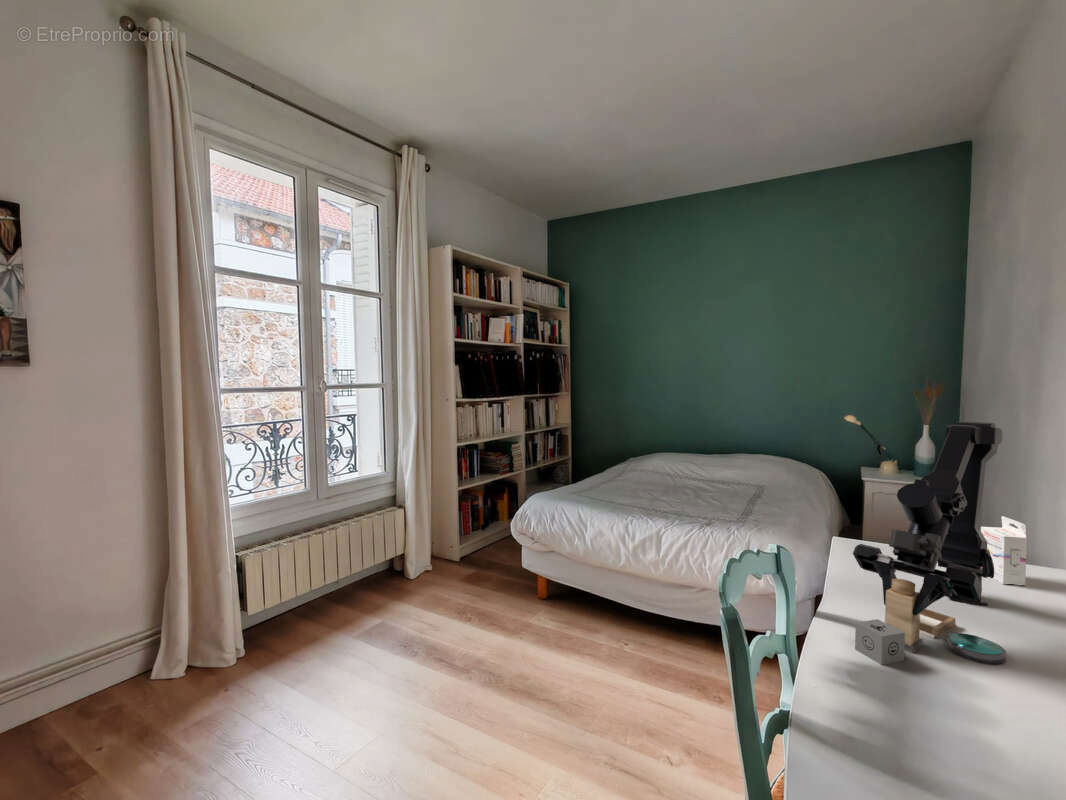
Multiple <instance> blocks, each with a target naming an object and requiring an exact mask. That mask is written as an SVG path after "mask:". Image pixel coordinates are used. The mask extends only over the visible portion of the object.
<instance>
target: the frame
mask: <svg viewBox="0 0 1066 800" xmlns="http://www.w3.org/2000/svg"><path fill="white" fill-rule="evenodd" d="M955 627H956V617H952V616H950V615H947V614H943V613H940V612H936V611H934V610H931V609H928V608H925V609H924V610H923V611H922V612H920V628H919V635H923V636H926V637H928V638H931V639H938V638H940V637H941V636H942V635H944V634H946V633H947V632H949V631H950V630H953V628H955Z"/></svg>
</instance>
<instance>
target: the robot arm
mask: <svg viewBox="0 0 1066 800" xmlns="http://www.w3.org/2000/svg"><path fill="white" fill-rule="evenodd" d="M1002 440H1003V430H1002V428H1001V427H1000V428H999V427H997V426H996V424H995V423H994V422H979V421H978V422H977V421H957V423H956V424H952V425H947V427H946V431H945V441H944V443H943V446H942V448H941V451H940V453H939V456H938V458H937V461H936V463H935V466H934V468H933V470H932V472H930V473H928V474H927V475H925V476H922V477H921V479H918V478H915V479H914V481H913V483H908V484H905V485H903V486H902V487H901V488H900V489H898V490H897V493H896V498H897V500H898V502H899V505H900V508H901V509H902V512H903V514H904V516H905V518H906V519H907V521H909V524H908V528H907V529H906V531H905V530H904V531H903V530H899V529H893V528H892V529H891V535H890V538H889V544H888V546H889V547H891V548H893V550H892V553H893V556H896V558H893V557H892V556H890V555H887V554H883V552H882V550H881V548H880V547H876V546H872V545H867V544H864V543H859V544H857V545H856V546H855V547H854V549H853V551H852V554H853V557H854V558H855V560H856V562H857V564H858V566H859V567H860V569H863V570H865V571H868V572H872V573H875V574H878V576H879V577H880V578H881V580H882V594H883V595H882V596H883V605H884V606H886V590H888V589H890V588H892V579H898V578H897V576H896V574H895V573H896V572H897V571H899V572H902V573H906V574H911V575H914V576H919V577H922V578H923V581H922V582H923V583H922V585H921V588H920V590H919V591H918V593H919V594H918V597H917V599H916V601H915V603H914V607H913V611H912V613H913V615H915V616H916V615H918V614H919V613H920V612H922V611H923V610H924V609H928V607H929V606H931V605H932V604H933V603H936V602H937V601H939V600H941V599H942V598H944V597H947V598H948V599H949V600H951V601H958V602H964V603H970V604H976V605H984V606H988V605H989V603H988V601H987V600H986V599H985V598H984V597H983V596H982V594H983V587H982V585H983V578H984V579H987V578H990V577H994V563H993V560H992V557H991V555H990V552H989V550H987V541H986V539H985V537H984V536H983V534H982V532H981V528H980V524H981V523H980V522H981V515H982V514H981V513H982V512H981V511H982V505H983V504H982V502H983V493H984V484H985V476H986V466H987V463H988V462H989V461H990V460H991V459H992V458H993V457H994V456H995V455H996V454H997V453H998V449H999V448H998V447H999V445H1000V444H1002V442H1003V441H1002ZM945 515H946V516H949V517H952V519H951V523H950V522H949V520H948V518H947V517H946V516H945ZM937 566H938V567H939V568H941V567H942V568H945V570H940V569H936V567H937ZM981 567H982V568H981Z"/></svg>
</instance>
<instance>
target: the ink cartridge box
mask: <svg viewBox="0 0 1066 800" xmlns="http://www.w3.org/2000/svg"><path fill="white" fill-rule="evenodd" d="M1012 525H1014V526H1016V527H1017V528H1016V527H1014V526H1012ZM980 531H981V532H982V534H983V536H984V537H985V539H986V541H987V550H989V552H990V555H991V557H992V560H993V563H994V577H993V578H994V579H996V580H998V581H999V582H1001V583H1003V584H1002V585H1004V584H1018V585H1017V586H1019V585H1020V584H1021V585H1025V586H1026V580H1027V579H1026V578H1027V577H1026V573H1027V550H1028V548H1027V547H1028V538H1027V526H1026V524H1024V523H1022V522H1020V521H1017V520H1014V519H1012V518H1009V517H1006V516H1003V515H1002V516H1001V527H995V526H980ZM981 568H982V567H981ZM994 579H993V580H994ZM996 580H995V581H996ZM999 582H998V583H999ZM1001 583H1000V584H1001Z"/></svg>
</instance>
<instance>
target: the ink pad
mask: <svg viewBox="0 0 1066 800" xmlns="http://www.w3.org/2000/svg"><path fill="white" fill-rule="evenodd" d="M945 647H946V648H947V650H949V651H950V652H952V653H953V654H955V655H957V656H959V657H961V658H963V659H965V660H969V661H972V662H975V663H979V664H983V665H992V666H999V665H1004V664H1006V662H1007V651H1006V649H1005V648H1004V647H1002V646H1001V645H1000V644H998V643H995V642H994V641H992V640H989V639H987V638H984V637H981V636H978V635H972V634H968V633H962V632H952V633H948V634H946V636H945Z"/></svg>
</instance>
